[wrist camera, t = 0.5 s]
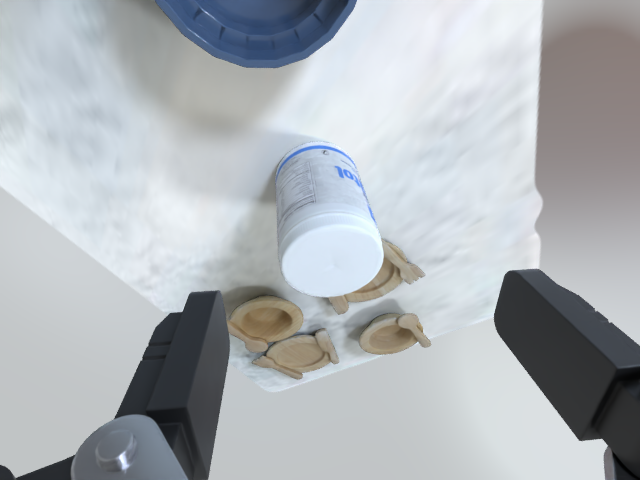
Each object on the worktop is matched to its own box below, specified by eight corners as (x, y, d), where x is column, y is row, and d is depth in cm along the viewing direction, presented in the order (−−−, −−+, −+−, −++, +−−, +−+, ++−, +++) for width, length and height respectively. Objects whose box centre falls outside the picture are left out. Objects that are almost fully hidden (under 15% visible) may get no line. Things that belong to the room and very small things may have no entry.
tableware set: (401, 217, 49) (410, 237, 46) (443, 320, 68) (452, 339, 65) (189, 307, 56) (185, 330, 53) (281, 377, 75) (282, 396, 72)
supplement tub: (371, 169, 43) (409, 257, 32) (318, 218, 47) (336, 311, 36) (310, 120, 38) (331, 205, 27) (257, 181, 42) (257, 275, 31)
